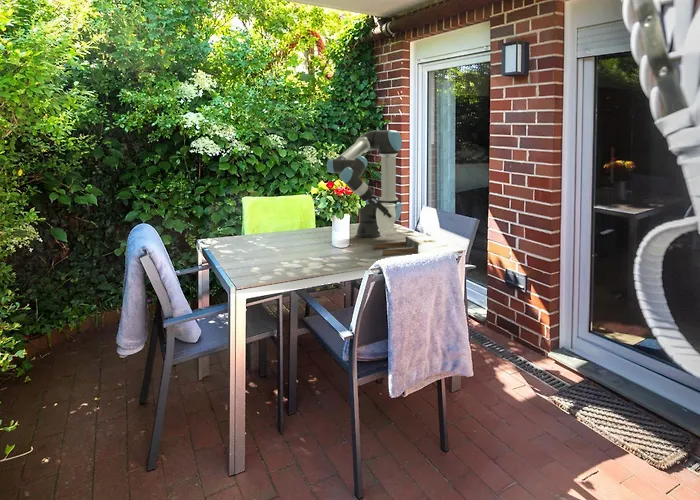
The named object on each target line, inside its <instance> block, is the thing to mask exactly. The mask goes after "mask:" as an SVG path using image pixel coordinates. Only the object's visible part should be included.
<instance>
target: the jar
mask: <svg viewBox="0 0 700 500" xmlns="http://www.w3.org/2000/svg"><path fill="white" fill-rule="evenodd" d="M381 204H382V205H383V206H384V207H385V208H386V209H387V210H388V211H389V212H390V213H391V214H392V215H393V216H394V217H395V216H396V213H395V206H396V204H393V203H381ZM376 220H377V226H378V228H379V229H378V231H379V232H380V233H386V234H387V233H393V232H394V229H393V228H394V226H395V222H396V221H394V222H393V223H392V222H391V221H390V220H389V219H388V218H387V217H386V216H384V213H383V212H382V211H380V210H379V209H378V208H377V210H376Z"/></svg>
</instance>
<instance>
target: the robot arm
mask: <svg viewBox="0 0 700 500" xmlns="http://www.w3.org/2000/svg"><path fill="white" fill-rule="evenodd" d="M402 148H403V139H402V135H401V134H400V132H399V131H397V130H391V129H388V130H381V129H380V130H371V131H368V132H365V133H363V134H362V135H360V136H359V137H357V139H355V143H353V144H352V145H350V147H348V148H347V149H346V150H345V151H343V152H342V153H341V154H340V155H339V156H338V157H336V158H329V159H328V160H327V161H326V170H327V171H328V172H329V173H333V174H339V176H338V177H339V179H341V181H342V182H343V184H345V185H346V186H348V188H349V189H350V190H351V191H352V192H353V194H354V195H356V196H357V197H358V198H359V199H360V201H361V200H362V201H366V205H365V208H363V209H360V210H359V209H358V212H359V213H358V215H359V216H358V217H359V220H358V221H359V222H358V227H357V230H356V236H357V237H359V238H366V239H367V238H379V237H380V236H381V232H379V231H378V229H379V228H378V226H377V220H376V210H377V208H378V209H379V210H380V211H382V212H383V213H384V216H386V217H387V218H388V219H389V220H390V221H391V222H392V223H393V222H394V221H395V222H396V221H398V220H399V218H401V215H402V211H403V210H402V209H403V205H402V203H401V202H400V201H399V198H398V197H397V195H396V194H397V193H396V192H397V191H396V190H397V189H396V187H397V186H396V185H397V184H396V183H397V180H396V177H397V172H396V171H397V169H396V167H397V164H396V161H397V160H396V159H397V157H396V156H397V155H399V151H401V149H402ZM369 151H378V155H379V156H380V157H381V159H380V164H381V168H380V169H381V171H380V173H381V175H380V176H381V178H380V179H381V196H380V197H379V198H377V197H375V196H373V193H374V190H372V189H371V188H370V187H369V186H368V184H367V183H366V182H365V181H364V180H363V179H362V178H361V177H362V175H363V173H364V172H365V170H366V168H367V167H368V162H369V161H368V160H367V158H366V157H364V156H362V155H363V154H365V153H367V152H369ZM381 203H393V204H396V206H395V213H396V216H395V217H394V216H393V215H392V214H391V213H390V212H389V211H388V210H387V209H386V208H385V207H384V206H383V205H382V204H381ZM395 222H394V223H395Z"/></svg>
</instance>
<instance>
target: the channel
mask: <svg viewBox="0 0 700 500" xmlns="http://www.w3.org/2000/svg"><path fill="white" fill-rule="evenodd" d="M373 245H374V246H373V248H374V250H379V249H382V256H392V255H408V254H418V253H419V241H417V240H415V239H414V238H412V237H410V236H408V235H406V236H405V240H404V241H391V242H375V243H374V244H373ZM407 247H408V248H407Z"/></svg>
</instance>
